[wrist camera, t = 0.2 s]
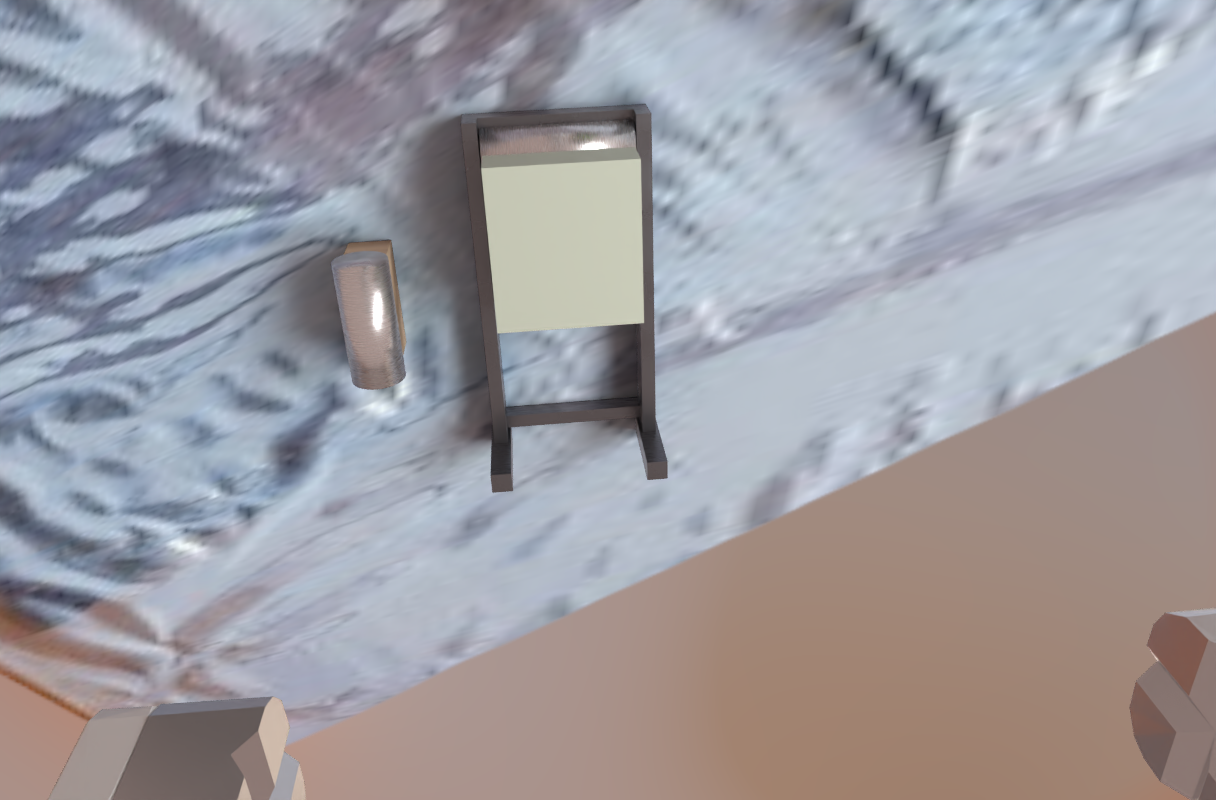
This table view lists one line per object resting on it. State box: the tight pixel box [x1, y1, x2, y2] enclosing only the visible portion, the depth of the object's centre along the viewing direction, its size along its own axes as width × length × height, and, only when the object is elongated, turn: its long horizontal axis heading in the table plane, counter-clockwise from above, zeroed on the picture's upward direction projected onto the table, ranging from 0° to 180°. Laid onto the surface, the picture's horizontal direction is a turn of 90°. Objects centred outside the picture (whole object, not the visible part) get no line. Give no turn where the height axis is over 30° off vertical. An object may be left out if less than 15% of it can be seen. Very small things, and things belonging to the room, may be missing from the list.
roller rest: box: [344, 240, 406, 354], centre depth 55 cm, size 6×2×2 cm, turn 2°
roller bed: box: [461, 104, 667, 492], centre depth 55 cm, size 21×10×6 cm, turn 2°
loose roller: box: [331, 251, 406, 390], centre depth 53 cm, size 7×3×3 cm, turn 2°
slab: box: [481, 147, 644, 333], centre depth 51 cm, size 9×8×2 cm
